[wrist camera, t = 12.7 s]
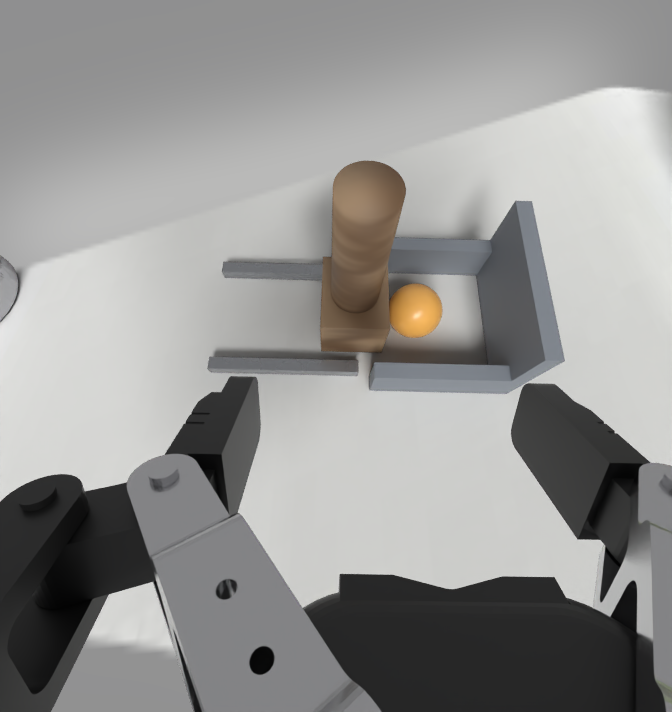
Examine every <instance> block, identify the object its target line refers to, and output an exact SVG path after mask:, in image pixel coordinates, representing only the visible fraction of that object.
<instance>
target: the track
mask: <svg viewBox="0 0 672 712" xmlns="http://www.w3.org/2000/svg"><path fill="white" fill-rule="evenodd" d="M322 271H323V265H318V264H283V263H249V262H223V268H222V273H223V275H224V277H225V278H256V279H292V280H322ZM208 369H209V370H210V371H211V372H219V373H259V374H299V375H339V376H357V375H358V360H320V359H281V358H242V357H209V362H208Z"/></svg>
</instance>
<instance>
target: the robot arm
mask: <svg viewBox="0 0 672 712" xmlns="http://www.w3.org/2000/svg"><path fill="white" fill-rule="evenodd" d="M17 290H18V278H17V274H16V272H15V270H14V267H13V266H12V265H11V264H10V263H9V262H8V261H7V260H6V259H4V258H3V257H2V256H0V321H1V319H2V318H3V317H4V316H5V315H6V314H7V313H8V311H9V309H10V308H11V306H12V305H13V303H14V300H15V298H16V295H17ZM260 425H261V424H260V407H259V393H258V382H257V378H256V377H238V376H231V377H230V378H229V379H228V381H227V383H226V385H225V387H224V388H223V390H222V392H211V393H210V394H208V395H207V396H206V397H204V398H203V399H201V400H200V401H199V402H198V403H197V405H196V406H195V408H194V409H193V411H192V414H191V415H190V416H189V417H188V419H187V420H186V424H184V425H183V427H182V428H181V430H180V431H179V433H178V435H177V436H176V438H175V439H174V441H173V442H172V444H171V446H170V447H169V449H168V450H167V452H166V453H165V455H162V456H159V457H156V458H153V459H151V460H149V461H147V462H145V463H143V464H142V465H140V466H139V467H138V468H137V469H135V470H134V471H133V473H132V474H131V475H130V477H129V479H128V481H127V482H126V483H123V484H119V485H114V486H110V487H105V488H100V489H95V490H90V491H84V488H83V485H82V482H81V481H80V479H78V478H77V477H75V476H72V475H66V474H59V475H51V476H47V477H43V478H39V479H37V480H34V481H31V482H29V483H27V484H25V485H23V486H21V487H19V488H17V489H16V490H14V491H13V492H11V493H10V494H9V495H7V496H6V497H5V498H4V499H3V500H2V501H1V502H0V712H51V710H52V708H53V706H54V704H55V702H56V700H57V698H58V696H59V694H60V692H61V690H62V688H63V686H64V684H65V682H66V680H67V678H68V676H69V674H70V672H71V670H72V668H73V666H74V664H75V662H76V660H77V658H78V656H79V654H80V652H81V650H82V648H83V645H84V644H85V641H86V639H87V637H88V635H89V633H90V631H91V629H92V627H93V625H94V623H95V621H96V619H97V617H98V615H99V613H100V611H101V609H102V607H103V605H104V603H105V601H106V599H107V597H108V595H109V594H111V593H115V592H118V591H122V590H125V589H129V588H132V587H136V586H139V585H143V584H146V583H150V582H153V585H154V588H155V591H156V594H157V598H158V601H159V604H160V607H161V610H162V613H163V616H164V619H165V622H166V625H167V628H168V632H169V635H170V638H171V641H172V644H173V647H174V650H175V653H176V657H177V660H178V663H179V666H180V670H181V673H182V676H183V680H184V683H185V686H186V690H187V693H188V696H189V699H190V702H191V705H192V709H193V712H672V466H670V465H666V464H660V463H650V462H649V461H648V460H647V459H646V458H645V457H643V456H642V455H641V454H640V453H639V452H638V451H637V450H635V449H634V448H633V447H632V446H631V445H630V444H629V443H627V442H626V441H625V440H624V439H623V438H622V437H621V436H619V435H618V434H615V433H614V430H613V429H611V428H610V427H609V426H608V425H607V424H604V422H603V421H602V420H601V419H600V418H599V417H598V416H597V415H595V414H594V413H593V412H592V411H591V410H589V409H587V408H585V407H584V406H582V405H580V404H578V403H576V402H574V401H573V400H572V399H571V398H570V397H569V396H568V395H567V394H565V393H564V392H563V391H562V390H561V389H560V388H559V387H558V386H556V385H555V384H531V383H528V384H526V385H524V387H523V388H522V391H521V394H520V398H519V402H518V405H517V409H516V413H515V416H514V420H513V424H512V429H511V437H512V442H513V445H514V447H515V449H516V450H517V452H518V453H519V455H520V456H521V457H522V459H523V460H524V462H525V463H526V465H527V466H528V468H529V469H530V471H531V472H532V473H533V475H534V476H535V478H536V479H537V481H538V482H539V484H540V485H541V487H542V488H543V489H544V491H545V492H546V494H547V495H548V497H549V498H550V500H551V501H552V503H553V504H554V505H555V507H556V508H557V510H558V511H559V513H560V514H561V516H562V517H563V519H564V520H565V521H566V523H567V524H568V526H569V527H570V529H571V530H572V532H573V533H574V535H575V536H576V537H577V539H592V540H601V541H602V542H603V543H604V545H603V547H602V550H601V552H600V554H599V561H598V569H597V577H596V586H595V594H594V603H593V608H592V607H590V606H587V605H585V604H582V603H580V602H577V601H574V600H571V599H568V598H566V597H565V595H564V594H563V592H562V590H561V588H560V586H559V585H558V583H557V581H556V579H555V577H499V578H495V579H491V580H488V581H484V582H480V583H477V584H473V585H469V586H466V587H462V588H458V589H445V588H441V587H437V586H433V585H430V584H426V583H422V582H418V581H414V580H410V579H407V578H403V577H399V576H395V575H368V574H340V579H339V592H338V593H335V594H331V595H328V596H326V597H323V598H321V599H319V600H316V601H314V602H313V603H311V604H309V605H307V606H306V607H304V608H302V607H301V605H300V604H299V602H298V600H297V599H296V597H295V596H294V594H293V593H292V591H291V590H290V588H289V587H288V585H287V584H286V582H285V580H284V579H283V577H282V576H281V574H280V573H279V571H278V570H277V568H276V567H275V565H274V564H273V562H272V561H271V559H270V557H269V556H268V554H267V553H266V551H265V550H264V548H263V547H262V545H261V544H260V542H259V541H258V539H257V538H256V536H255V534H254V533H253V531H252V530H251V528H250V527H249V525H248V524H247V522H246V521H245V519H244V518H243V517H242V516H241V515H240V514H239V513H237V512H238V509H239V506H240V502H241V499H242V496H243V492H244V489H245V486H246V482H247V479H248V476H249V472H250V469H251V466H252V462H253V459H254V456H255V452H256V449H257V446H258V442H259V437H260Z"/></svg>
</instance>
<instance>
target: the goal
mask: <svg viewBox="0 0 672 712" xmlns="http://www.w3.org/2000/svg"><path fill="white" fill-rule="evenodd" d="M388 273H412V274H447V275H476V276H477V284H478V292H479V299H480V307H481V315H482V322H483V330H484V338H485V346H486V353H487V361H488V365H464V364H425V363H386V362H374V365H373V368H372V370H371V373H370V376H369V385H370V390H374V391H415V392H456V393H496V394H507V393H509V392H510V391H512V390H514V389H516V388H517V387H519V386H521V385H523V384H525V383H526V382H528V381H530V380H532V379H534V378H535V377H537V376H539V375H541V374H542V373H544V372H546V371H548V370H550V369H551V368H553V367H555V366H557V365H558V364H560V363H562V362H564V361H565V359H564V354H563V350H562V345H561V340H560V335H559V330H558V325H557V321H556V316H555V311H554V306H553V301H552V296H551V292H550V287H549V282H548V277H547V272H546V267H545V263H544V258H543V253H542V248H541V243H540V238H539V234H538V229H537V224H536V219H535V214H534V209H533V205H532V201H515V203H514V204H513V206H512V207H511V209H510V210H509V212H508V213H507V215H506V217H505V218H504V220H503V221H502V223H501V224H500V226H499V228H498V229H497V231H496V232H495V234H494V235H493V237H492V238H491V240H464V239H431V238H397V237H394V241H393V245H392V249H391V252H390V256H389V260H388Z"/></svg>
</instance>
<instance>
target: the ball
mask: <svg viewBox="0 0 672 712" xmlns="http://www.w3.org/2000/svg"><path fill="white" fill-rule="evenodd" d="M389 315H390V324H391V326H392V327H393V328H394V330H395V331H397V332H398V333H399V334H401V335H403V336H405V337H410V338H419V337H423V336H425V335H427V334H429V333H431V332H432V331H433V330H434V329H435V328H436V327H437V326H438V324H439V322H440V320H441V317H442V303H441V300H440V298H439V296H438V295H437V293H436V292H435V291H434V290H432V289H431V288H430V287H428V286H426V285H422V284H409V285H405V286H403V287H401V288H400V289H398V290H397V291H396V292H395V293H394V294H393V296H392V297H391V299H390V301H389Z"/></svg>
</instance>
